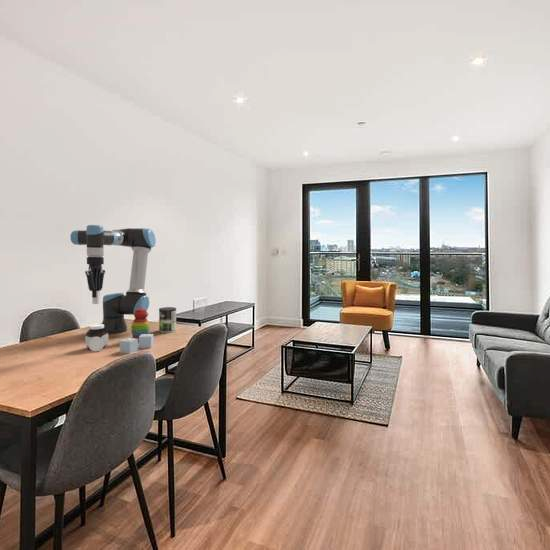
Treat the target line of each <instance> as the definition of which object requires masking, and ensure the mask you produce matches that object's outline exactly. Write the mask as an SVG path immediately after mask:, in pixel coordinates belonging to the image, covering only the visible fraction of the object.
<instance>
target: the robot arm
mask: <svg viewBox="0 0 550 550" xmlns="http://www.w3.org/2000/svg"><path fill="white" fill-rule="evenodd" d="M70 241H71V243H72V244H73V245H74V246H76V245H78V246H86V264H87V265H88V270H86V271H85V272H84V273H85V275H86V280H87V285H88V290H89V291H90V292H91V299H92V304H93V305H100V291H102V290H103V287H104V279H105V278H104V277H105V273H106V269H103V265H104V263H105V262H104V261H105V260H104V259H105V258H104V254H105V253H104V246H121V247H128V248H130V249H131V250H132V252H133V254H132V262H131V269H130V271H131V272H130V278H129V286H128V287H129V288H128V290H127V291H126V292H125V294H124V292H114V293H109V294H108V293H107V294H105V295H103V297H102V322H101V324H104V329H106V330H107V332H108V335H109V334H111V335H112V334H121V333H124V332H127V331H128V325H127V322H126V319H125V315H129V316H131V315H132V316H134V312H135V310H137V309H140V308H142V309H145V310H146V312H148V310H149V307H150V297H149V296H148V295H147V292H146V291H145V284H146V274H147V266H148V257H149V253H151V251H152V248H154V247H155V246H156V242H157V241H156V235H155V233H154V231H153V230H152V229H151V228H145V227H144V228H133V227H132V228H130V227H129V228H121V229H113V230H105V229H104V226H103V225H98V224H89V225H86V230H73V231H72V232H71V233H70Z"/></svg>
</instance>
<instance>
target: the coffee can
mask: <svg viewBox="0 0 550 550" xmlns="http://www.w3.org/2000/svg"><path fill="white" fill-rule="evenodd" d="M158 313H159V314H158V316H159V317H158V318H159V319H158V325H159V327H158V332H160V333H162V334H163V333H164V334H167V333H175V332H176V331H177V308H176V307H174V306H171V307H170V306H165V307H159V308H158Z"/></svg>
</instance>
